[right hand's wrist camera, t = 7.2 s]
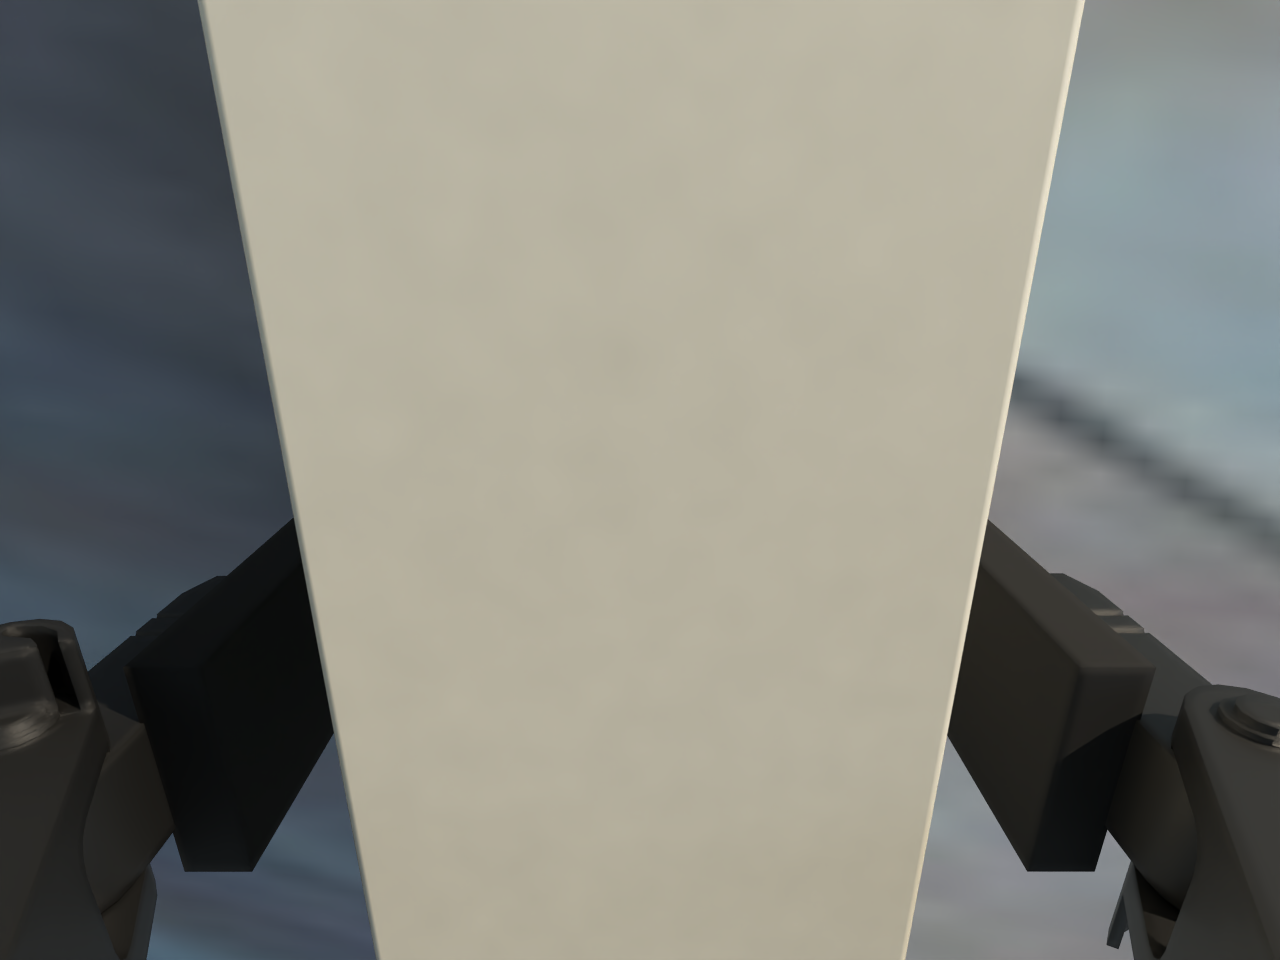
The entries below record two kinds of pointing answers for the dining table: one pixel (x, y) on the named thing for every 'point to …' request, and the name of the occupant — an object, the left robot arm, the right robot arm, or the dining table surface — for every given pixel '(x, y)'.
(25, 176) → the dining table surface
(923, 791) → the beam
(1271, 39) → the dining table surface
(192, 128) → the dining table surface
